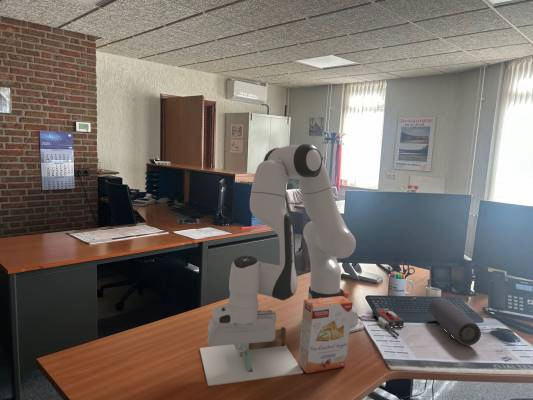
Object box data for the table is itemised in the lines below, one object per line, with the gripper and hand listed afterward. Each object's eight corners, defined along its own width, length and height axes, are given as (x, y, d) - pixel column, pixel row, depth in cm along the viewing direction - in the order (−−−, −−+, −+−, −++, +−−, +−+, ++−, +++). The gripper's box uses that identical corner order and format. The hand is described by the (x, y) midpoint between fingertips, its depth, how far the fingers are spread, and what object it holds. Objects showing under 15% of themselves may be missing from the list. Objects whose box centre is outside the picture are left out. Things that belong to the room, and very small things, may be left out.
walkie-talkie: (367, 315, 157) (395, 339, 138) (368, 304, 156) (396, 327, 137) (386, 313, 159) (416, 337, 140) (387, 303, 159) (418, 325, 139)
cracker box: (306, 375, 112) (312, 306, 110) (297, 364, 118) (302, 298, 115) (346, 367, 118) (353, 301, 115) (335, 357, 123) (341, 294, 121)
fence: (284, 343, 130) (284, 326, 129) (285, 346, 128) (286, 329, 127) (243, 348, 126) (244, 330, 125) (244, 350, 124) (245, 333, 123)
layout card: (281, 340, 133) (281, 338, 133) (303, 373, 114) (303, 371, 114) (199, 349, 125) (199, 347, 125) (208, 386, 106) (208, 384, 106)
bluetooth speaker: (481, 349, 132) (484, 321, 131) (454, 348, 132) (457, 320, 131) (449, 320, 155) (452, 296, 153) (426, 319, 155) (428, 295, 153)
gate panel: (239, 348, 125) (240, 332, 124) (242, 348, 125) (243, 331, 125) (247, 371, 113) (248, 353, 112) (250, 370, 113) (251, 352, 112)
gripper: (273, 305, 119) (271, 347, 121) (207, 309, 114) (205, 353, 116) (279, 314, 113) (277, 358, 115) (210, 318, 108) (208, 365, 110)
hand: (240, 356), depth 115 cm, fingers closed
